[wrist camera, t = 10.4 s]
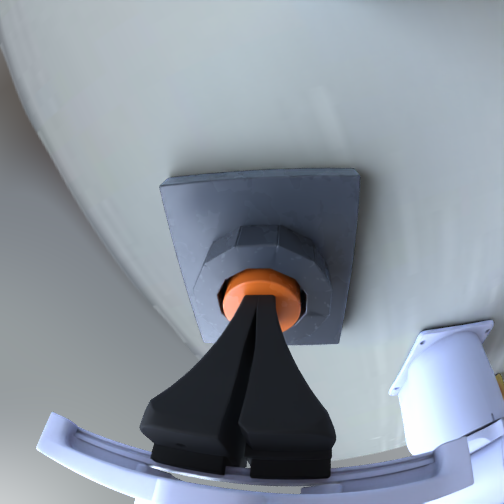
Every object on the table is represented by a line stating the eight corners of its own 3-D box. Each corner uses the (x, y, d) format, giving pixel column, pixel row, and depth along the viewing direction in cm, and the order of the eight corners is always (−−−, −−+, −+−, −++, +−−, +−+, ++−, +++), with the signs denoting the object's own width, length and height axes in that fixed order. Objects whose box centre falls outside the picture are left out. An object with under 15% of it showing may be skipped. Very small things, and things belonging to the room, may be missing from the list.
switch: (299, 311, 15) (299, 336, 13) (233, 311, 15) (228, 335, 14) (300, 256, 13) (301, 280, 12) (223, 257, 13) (216, 281, 12)
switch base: (337, 330, 18) (341, 366, 16) (207, 329, 19) (197, 364, 17) (354, 167, 12) (372, 191, 10) (167, 177, 13) (141, 201, 11)
